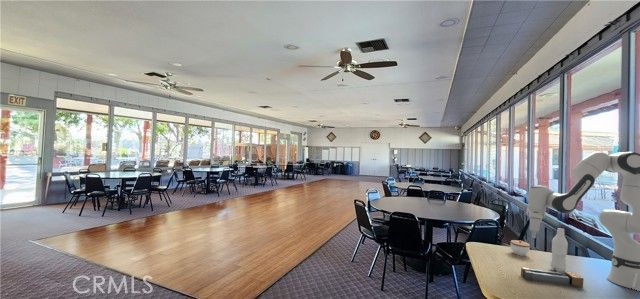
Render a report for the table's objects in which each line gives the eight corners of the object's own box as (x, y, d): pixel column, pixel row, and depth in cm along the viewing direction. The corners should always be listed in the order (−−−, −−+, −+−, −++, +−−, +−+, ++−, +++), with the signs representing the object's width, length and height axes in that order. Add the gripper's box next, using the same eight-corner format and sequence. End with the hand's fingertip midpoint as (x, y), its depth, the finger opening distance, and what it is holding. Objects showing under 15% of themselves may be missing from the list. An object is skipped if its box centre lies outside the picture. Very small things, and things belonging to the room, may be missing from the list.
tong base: (574, 281, 155) (574, 272, 155) (582, 287, 148) (583, 278, 148) (520, 274, 161) (520, 265, 161) (526, 280, 154) (527, 271, 154)
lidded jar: (506, 250, 197) (507, 237, 197) (520, 251, 198) (521, 237, 197) (517, 257, 186) (518, 243, 186) (533, 257, 187) (534, 243, 187)
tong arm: (564, 280, 156) (565, 272, 155) (567, 282, 153) (568, 274, 153) (520, 274, 160) (521, 267, 160) (522, 276, 158) (523, 269, 158)
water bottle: (568, 274, 164) (572, 231, 163) (554, 272, 165) (557, 230, 164) (560, 268, 171) (564, 227, 170) (547, 267, 172) (550, 226, 171)
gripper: (529, 208, 178) (527, 230, 178) (528, 214, 162) (526, 238, 162) (542, 211, 174) (540, 233, 174) (542, 216, 158) (540, 241, 158)
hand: (533, 235), depth 168 cm, fingers open, 8 cm apart
